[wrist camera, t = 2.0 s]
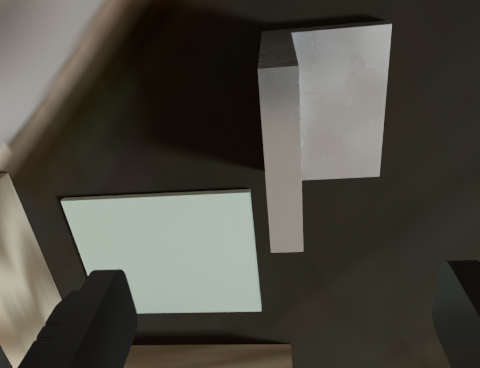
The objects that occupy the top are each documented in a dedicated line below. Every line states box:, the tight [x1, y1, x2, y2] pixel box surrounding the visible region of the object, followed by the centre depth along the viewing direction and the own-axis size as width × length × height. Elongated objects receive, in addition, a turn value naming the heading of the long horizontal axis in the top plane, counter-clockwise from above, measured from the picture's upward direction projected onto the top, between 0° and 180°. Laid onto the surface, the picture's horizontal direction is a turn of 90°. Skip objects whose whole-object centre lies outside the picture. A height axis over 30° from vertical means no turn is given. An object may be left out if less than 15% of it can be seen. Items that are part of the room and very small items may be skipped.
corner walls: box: [0, 173, 292, 368], centre depth 27 cm, size 17×18×5 cm
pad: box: [61, 189, 261, 313], centre depth 28 cm, size 10×12×1 cm
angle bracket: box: [258, 20, 392, 253], centre depth 19 cm, size 8×6×8 cm
